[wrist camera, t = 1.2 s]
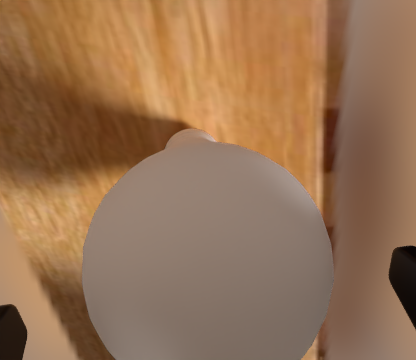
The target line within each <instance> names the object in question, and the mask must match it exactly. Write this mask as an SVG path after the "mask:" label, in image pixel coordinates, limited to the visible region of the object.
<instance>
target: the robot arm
mask: <svg viewBox="0 0 416 360" xmlns="http://www.w3.org/2000/svg"><path fill="white" fill-rule="evenodd" d="M389 280H390V283H391V285H392V287H393V289H394V291H395V292H396V294H397V296H398V298H399V300H400V302H401V303H402V305H403V307H404V309H405V311H406V313H407V314H408V316H409V318H410V320H411V322H412V324H413V326H414V327H415V329H416V247H415V246H403V247H397V248H395V249H394V250H393V253H392V258H391V263H390V268H389ZM26 341H27V329H26V326H25V324H24V322H23V320H22V318H21V316H20V314H19V312H18V310H17V308H16V307H15V306H14V305H12V304H8V305H1V306H0V360H22V358H23V353H24V349H25V345H26Z"/></svg>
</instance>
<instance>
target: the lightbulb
mask: <svg viewBox="0 0 416 360" xmlns="http://www.w3.org/2000/svg"><path fill="white" fill-rule="evenodd" d="M333 282H334V275H333V258H332V249H331V243H330V240H329V237H328V234H327V230H326V227H325V224H324V222H323V219H322V216H321V213H320V211H319V209H318V208H317V206H316V205H315V203H314V201H313V200H312V198H311V197H310V195H309V194H308V192H307V191H306V190H305V188H304V187H303V186H302V184H301V183H300V182H299V181H298V180H297V179H296V178H295V177H294V176H293V175H291V174H290V173H289V172H288V171H287V170H286V169H285V168H283V167H282V166H280V165H278V164H277V163H275V162H273V161H272V160H270V159H269V158H267V157H265V156H263V155H261V154H260V153H258V152H256V151H253V150H250V149H247V148H244V147H241V146H239V145H235V144H228V143H221V142H216V141H215V140H214V138H213V137H212V136H211V135H210V134H208V133H207V132H205V131H202V130H200V129H185V130H182V131H179V132H177V133H176V134H174V135H173V136H172V137H171V138H170V139H169V141H168V142H167V144H166V146H165V149H164V150H162V151H160V152H158V153H155V154H153V155H151V156H149V157H147V158H145V159H144V160H142V161H141V162H140V163H138V164H137V165H135V166H134V167H132V168H131V169H130V170H129V171H128V172H127V173H126V174H125V175H124V176H123V177H122V178H121V179H120V180H119V181H118V182H117V183H116V184H115V185H114V186H113V187H112V188H111V189H110V190H109V191H108V193H107V194H106V195H105V196H104V198H103V200H102V201H101V203H100V205H99V207H98V208H97V210H96V212H95V213H94V216H93V218H92V221H91V224H90V226H89V230H88V233H87V236H86V240H85V243H84V246H83V266H82V286H83V291H84V296H85V301H86V305H87V310H88V314H89V318H90V320H91V322H92V324H93V326H94V328H95V330H96V332H97V333H98V335H99V337H100V339H101V340H102V342H103V344H104V345H105V347H106V349H107V350H108V352H109V353H110V354H111V355H112V356H113V357H114V358H115V359H116V360H300V359H301V358H303V356H304V355H305V353H306V352H307V351H308V349H309V348H310V347H311V345H312V344H313V342H314V340H315V338H316V336H317V334H318V332H319V330H320V327H321V325H322V323H323V321H324V319H325V317H326V314H327V310H328V305H329V301H330V296H331V291H332V287H333Z"/></svg>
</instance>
